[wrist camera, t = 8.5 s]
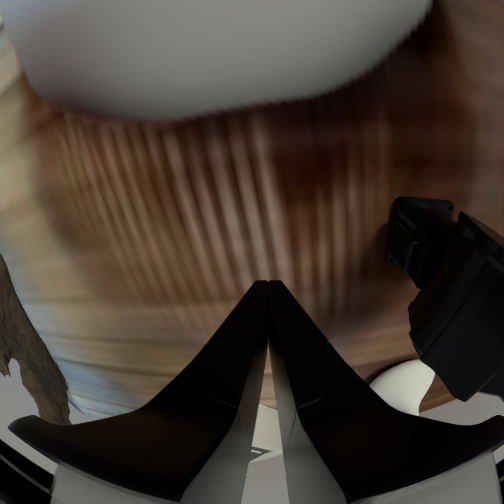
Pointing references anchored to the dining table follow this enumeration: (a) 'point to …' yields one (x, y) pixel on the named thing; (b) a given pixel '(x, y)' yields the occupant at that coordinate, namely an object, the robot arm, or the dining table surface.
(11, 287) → the driftwood
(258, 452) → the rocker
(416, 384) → the flower in vase
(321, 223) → the dining table surface
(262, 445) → the box
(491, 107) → the dining table surface
